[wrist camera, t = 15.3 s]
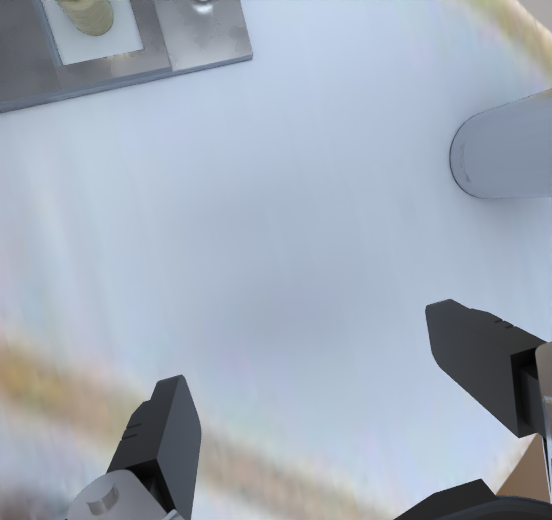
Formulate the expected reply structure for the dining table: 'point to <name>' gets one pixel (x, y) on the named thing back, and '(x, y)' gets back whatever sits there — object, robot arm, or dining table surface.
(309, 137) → the dining table surface
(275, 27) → the dining table surface
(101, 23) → the pin
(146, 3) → the chain end upper
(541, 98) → the robot arm
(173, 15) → the chain end lower
